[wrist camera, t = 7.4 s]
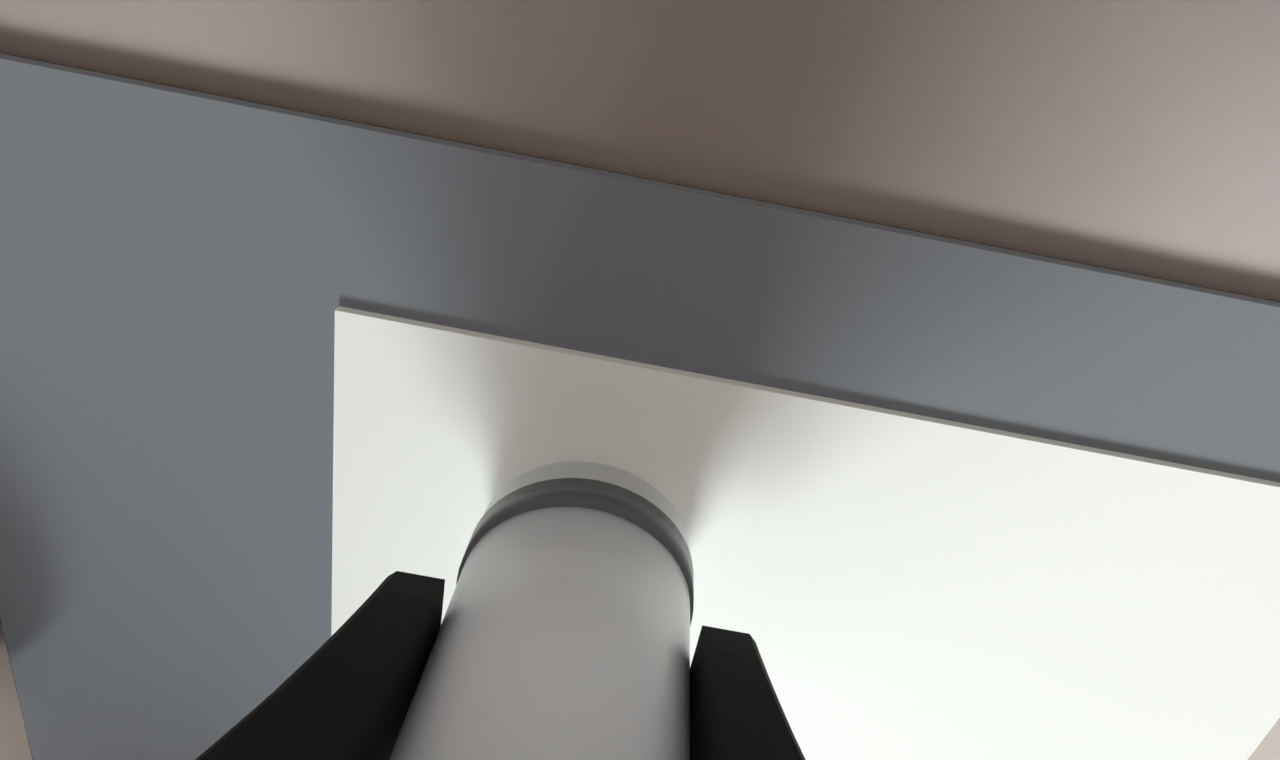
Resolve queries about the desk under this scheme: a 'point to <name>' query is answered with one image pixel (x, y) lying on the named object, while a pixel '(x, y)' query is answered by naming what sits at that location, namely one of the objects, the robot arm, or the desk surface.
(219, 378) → the desk mat
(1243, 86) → the desk surface
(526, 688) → the marker
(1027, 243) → the desk surface
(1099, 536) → the paper
